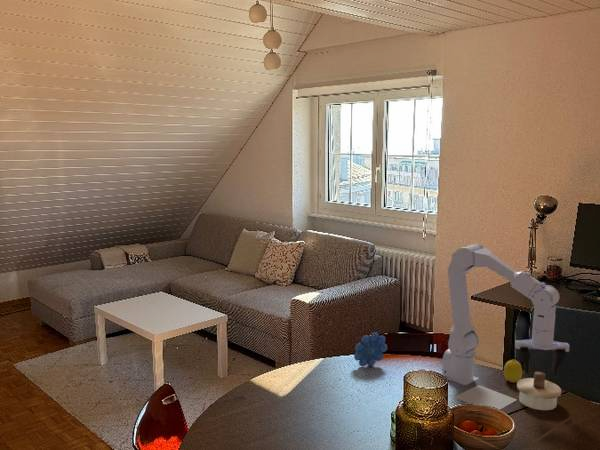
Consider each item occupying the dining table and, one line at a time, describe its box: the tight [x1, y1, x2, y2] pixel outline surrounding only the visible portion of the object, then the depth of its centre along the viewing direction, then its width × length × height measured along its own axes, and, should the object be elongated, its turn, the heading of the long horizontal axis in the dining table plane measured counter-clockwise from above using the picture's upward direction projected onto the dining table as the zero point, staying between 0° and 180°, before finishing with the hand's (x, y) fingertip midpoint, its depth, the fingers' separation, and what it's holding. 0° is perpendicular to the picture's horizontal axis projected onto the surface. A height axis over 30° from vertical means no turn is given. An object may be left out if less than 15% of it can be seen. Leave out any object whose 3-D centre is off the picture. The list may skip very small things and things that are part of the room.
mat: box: [454, 384, 518, 411], centre depth 170 cm, size 13×13×1 cm
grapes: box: [353, 331, 388, 367], centre depth 194 cm, size 12×7×12 cm, turn 101°
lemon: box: [503, 359, 523, 384], centre depth 181 cm, size 6×6×8 cm
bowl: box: [518, 391, 558, 411], centre depth 167 cm, size 10×10×4 cm
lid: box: [516, 371, 562, 399], centre depth 166 cm, size 12×12×5 cm
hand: (539, 372), depth 166 cm, fingers open, 7 cm apart
